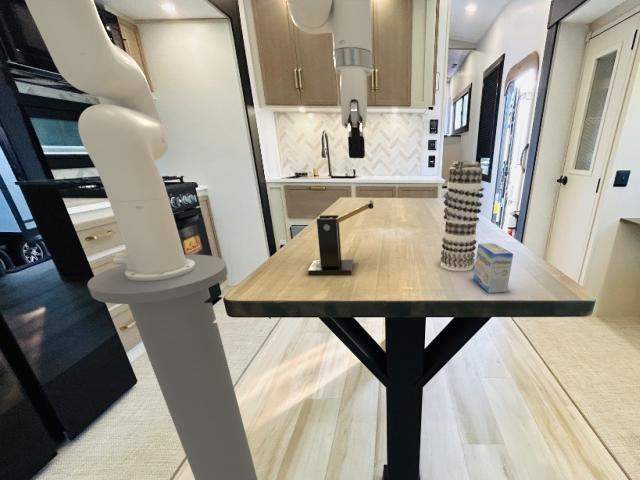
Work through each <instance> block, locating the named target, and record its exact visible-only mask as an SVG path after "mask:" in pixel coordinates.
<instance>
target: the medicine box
mask: <svg viewBox="0 0 640 480" xmlns="http://www.w3.org/2000/svg"><path fill="white" fill-rule="evenodd" d="M475 256H476V258H475V262H474V264H475V265H474V270H473V271H474V272H473V279H472V280H473V281H474V282H475V283H476V284H477V285H478V286H480V287H481V288H482V289H483V290H485V291H486V292H487V293H488V294H494V293H495V294H496V293H506V292H507V291H508V287H509V281H510V275H511V270H512V264H513V258H514V253H512V252H511V251H509V250H507V249H506V248H504V247H502V246H500V245H499V244H496V243H487V242H486V243H478V244H477V248H476V255H475Z"/></svg>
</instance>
